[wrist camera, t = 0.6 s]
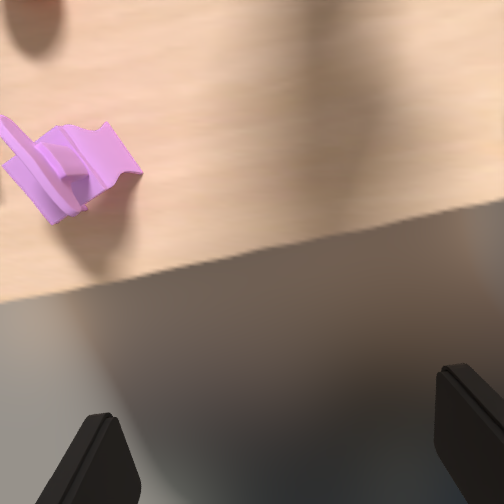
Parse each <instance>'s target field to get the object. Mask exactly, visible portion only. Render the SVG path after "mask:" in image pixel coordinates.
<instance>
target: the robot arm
mask: <svg viewBox="0 0 504 504" xmlns="http://www.w3.org/2000/svg"><path fill="white" fill-rule="evenodd" d="M434 425H435V426H434V446H435V449H436V452H437V454H438V456H439V457H440V459H441V461H442V463H443V464H444V466H445V467H446V469H447V471H448V472H449V474H450V475H451V477H452V478H453V480H454V482H455V483H456V485H457V487H458V488H459V490H460V491H461V493H462V495H463V496H464V498H465V499H466V501H467V503H468V504H504V399H503V398H502V397H500V395H499V394H498V393H496V392H495V391H494V390H493V389H492V388H491V387H490V386H489V385H488V384H487V383H486V382H485V381H484V380H483V379H482V378H481V377H480V376H479V375H478V374H477V373H476V372H475V371H474V370H473V369H472V368H471V367H470V366H469V365H467V364H465V363H461V364H455V365H447V366H443V367H442V370H441V372H438V373H437V376H436V400H435V424H434ZM140 494H141V481H140V478H139V475H138V472H137V469H136V467H135V464H134V461H133V458H132V456H131V453H130V450H129V447H128V445H127V442H126V440H125V437H124V434H123V431H122V429H121V426H120V423H119V420H118V418H117V417H113V416H112V414H110V413H101V414H94V415H89V416H88V417H87V418H86V419H85V421H84V422H83V424H82V426H81V427H80V429H79V431H78V432H77V434H76V436H75V438H74V439H73V441H72V443H71V444H70V446H69V448H68V450H67V451H66V453H65V455H64V457H63V458H62V460H61V462H60V463H59V465H58V467H57V469H56V470H55V472H54V474H53V476H52V477H51V479H50V480H49V481H48V483H47V485H46V487H45V488H44V490H43V492H42V493H41V495H40V497H39V498H38V500H37V502H36V503H35V504H138V501H139V498H140Z"/></svg>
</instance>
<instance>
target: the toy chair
mask: <svg viewBox="0 0 504 504" xmlns="http://www.w3.org/2000/svg"><path fill="white" fill-rule="evenodd" d="M0 137H1V138H2V139H3V140H4V141H5V143H6V144H7V145H8V146H9V147H10V148H11V150H12V151H13V152H14V153H15V154H16V155H15V156H14V157H13V158H11V159H10V160H8V161H7V162H6V163H4V164H3V165H2V167H3V168H4V169H5V170H6V172H7V173H8V174H9V175H10V176H11V178H12V179H13V180H14V181H15V182H16V183H17V184H18V185H19V186H20V188H21V189H22V190H23V191H24V192H25V193H26V194H27V196H28V197H29V198H30V199H31V200H32V202H33V203H34V204H35V205H36V207H37V208H38V209H39V211H40V212H41V213H42V215H43V216H44V217H45V218H46V219H47V220H48V222H49V223H50V224H51V225H54V224H57V223H59V222H60V221H61V220H62V219H64V218H65V217H67V216H68V215H69V216H71V217H74V216H76V215H78V214H79V213H80V212H81V211H87V210H88V208H87V207H86V206H85V204H86V203H87V202H89V201H91V200H92V199H94V198H95V197H97V196H98V195H100V194H101V193H103V192H104V191H106V190H108V189H109V188H111V187H113V185H114V184H115V183H116V181H117V179H118V177H119V176H120V174H121V173H126V172H128V173H136V174H142V173H143V171H142V170H141V168H140V167H139V166H138V164H137V163H136V161H135V160H134V159H133V157H132V156H131V154H130V153H129V151H128V150H127V149H126V147H125V146H124V144H123V143H122V141H121V140H120V139H119V137H118V136H117V134H116V133H115V131H114V130H113V129H112V127H111V126H110V124H109V123H108V122H107V121H106V122H105V123H104V124H103V125H102V126H101V128H100V129H98V130H95V131H90V130H86V129H83V128H80V127H77V126H74V125H68V124H67V125H64V126H55V127H54V128H52V129H51V130H50V131H48V132H47V133H45V134H44V135H43V136H42V137H40V138H39V139H38V140H36V141H35V142H33V141H32V140H31V139H30V138H29V137H28V136H27V135H26V134H25V133H24V132H23V131H22V130H21V129H20V128H19V127H18V126H17V125H16V124H15V123H14V122H13V121H12V120H11V119H9V118H8V117H6V116H4V115H0Z"/></svg>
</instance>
